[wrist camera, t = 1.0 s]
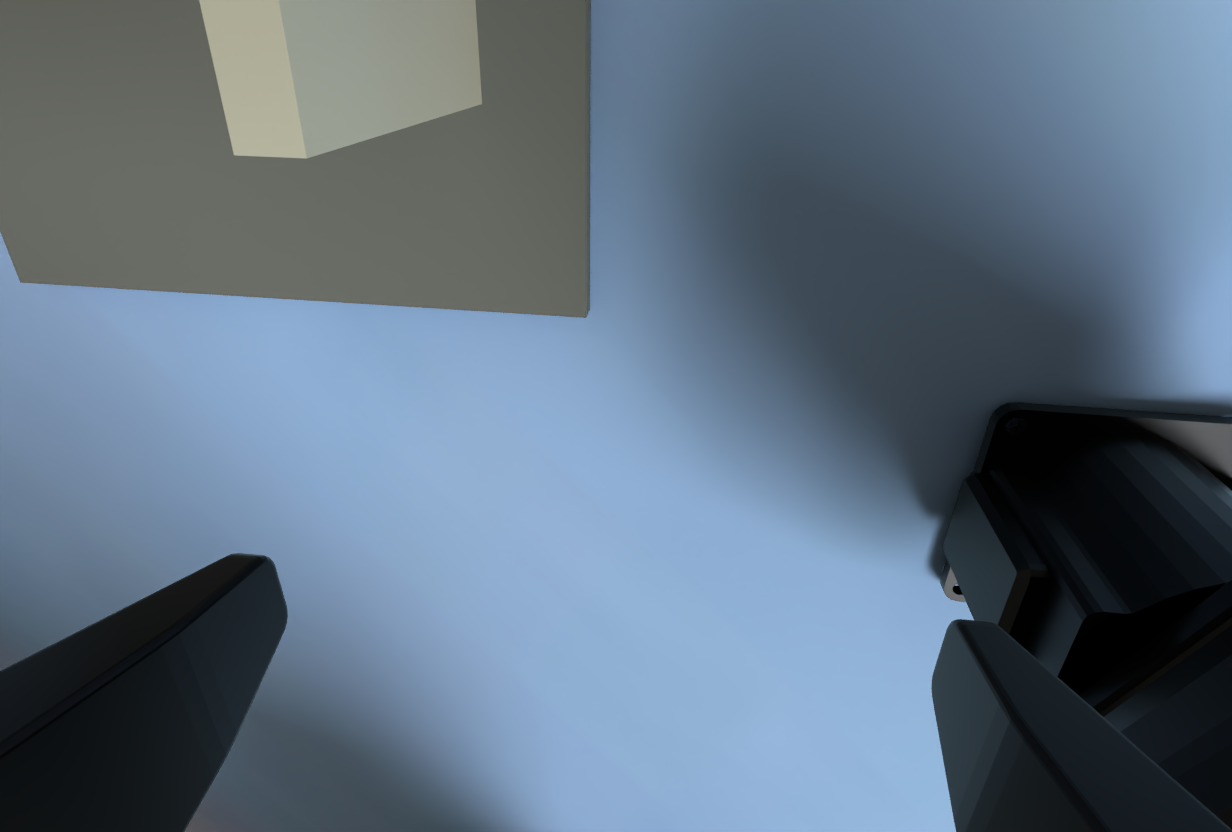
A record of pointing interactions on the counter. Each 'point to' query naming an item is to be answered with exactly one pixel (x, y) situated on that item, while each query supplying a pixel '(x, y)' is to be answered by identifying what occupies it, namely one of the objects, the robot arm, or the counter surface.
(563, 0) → the mat
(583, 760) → the counter surface
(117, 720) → the robot arm
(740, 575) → the counter surface
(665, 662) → the counter surface
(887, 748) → the counter surface
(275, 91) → the tile
